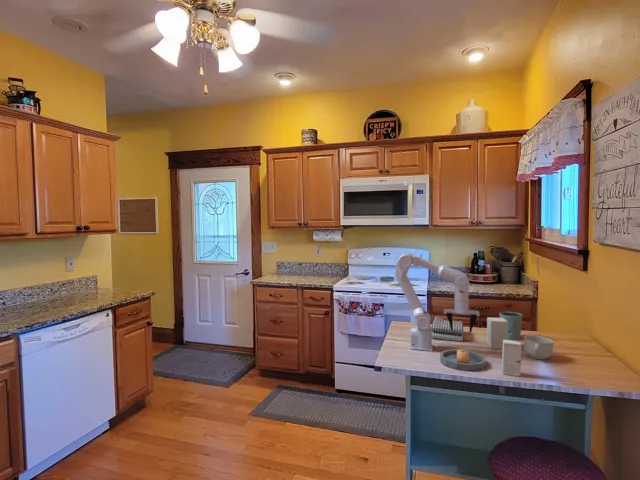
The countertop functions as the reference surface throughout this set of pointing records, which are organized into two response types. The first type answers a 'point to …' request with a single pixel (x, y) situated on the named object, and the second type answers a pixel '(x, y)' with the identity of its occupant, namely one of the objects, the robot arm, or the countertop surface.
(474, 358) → the groove tray
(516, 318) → the green plant pot
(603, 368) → the countertop surface
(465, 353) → the bead
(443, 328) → the towel
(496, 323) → the supplement box
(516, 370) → the skincare box
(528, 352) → the teacup
